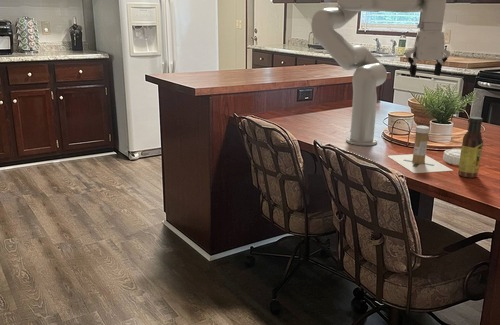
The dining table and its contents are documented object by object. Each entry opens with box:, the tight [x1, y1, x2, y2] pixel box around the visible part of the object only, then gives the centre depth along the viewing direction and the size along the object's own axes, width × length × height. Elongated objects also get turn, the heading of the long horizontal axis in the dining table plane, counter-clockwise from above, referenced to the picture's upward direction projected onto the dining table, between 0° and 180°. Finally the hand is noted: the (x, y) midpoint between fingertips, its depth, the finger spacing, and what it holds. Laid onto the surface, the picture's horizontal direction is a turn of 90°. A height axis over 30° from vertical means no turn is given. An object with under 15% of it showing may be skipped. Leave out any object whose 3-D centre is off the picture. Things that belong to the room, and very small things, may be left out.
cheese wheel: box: [442, 148, 461, 166], centre depth 179 cm, size 12×12×4 cm
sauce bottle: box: [458, 116, 484, 179], centre depth 162 cm, size 6×6×20 cm
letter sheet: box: [387, 153, 454, 174], centre depth 177 cm, size 20×15×1 cm
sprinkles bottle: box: [412, 125, 430, 164], centre depth 175 cm, size 5×5×14 cm
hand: (424, 75), depth 181 cm, fingers open, 9 cm apart
